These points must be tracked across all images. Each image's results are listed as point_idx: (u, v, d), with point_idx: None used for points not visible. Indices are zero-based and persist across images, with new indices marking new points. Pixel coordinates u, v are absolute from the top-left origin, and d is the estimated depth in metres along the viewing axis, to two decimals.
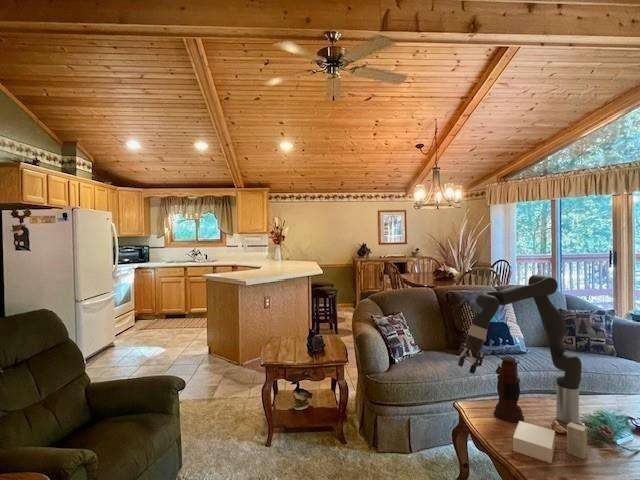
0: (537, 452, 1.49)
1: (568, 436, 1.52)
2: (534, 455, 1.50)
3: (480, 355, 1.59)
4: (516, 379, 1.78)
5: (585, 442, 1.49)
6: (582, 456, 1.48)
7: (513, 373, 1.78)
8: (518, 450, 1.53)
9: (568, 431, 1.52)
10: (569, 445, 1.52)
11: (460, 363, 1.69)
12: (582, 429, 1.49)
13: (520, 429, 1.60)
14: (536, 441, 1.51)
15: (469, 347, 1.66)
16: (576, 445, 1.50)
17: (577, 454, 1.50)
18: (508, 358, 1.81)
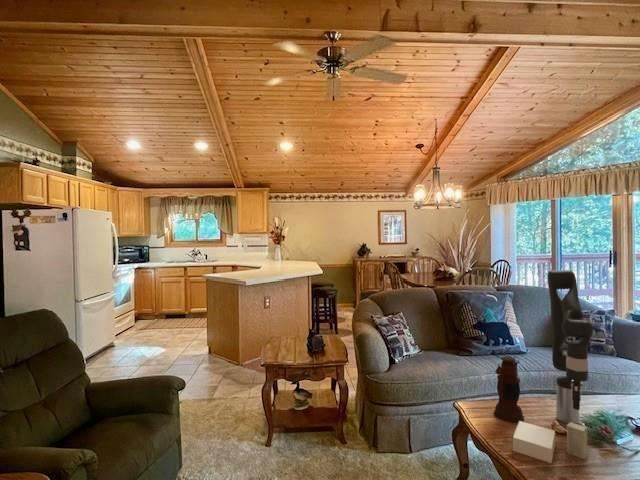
0: (537, 452, 1.49)
1: (568, 436, 1.52)
2: (534, 455, 1.50)
3: None
4: (516, 379, 1.78)
5: (585, 442, 1.49)
6: (582, 456, 1.48)
7: (513, 373, 1.78)
8: (518, 450, 1.53)
9: (568, 431, 1.52)
10: (569, 445, 1.52)
11: None
12: (582, 429, 1.49)
13: (520, 429, 1.60)
14: (536, 441, 1.51)
15: (580, 382, 1.49)
16: (576, 445, 1.50)
17: (577, 454, 1.50)
18: (508, 358, 1.81)
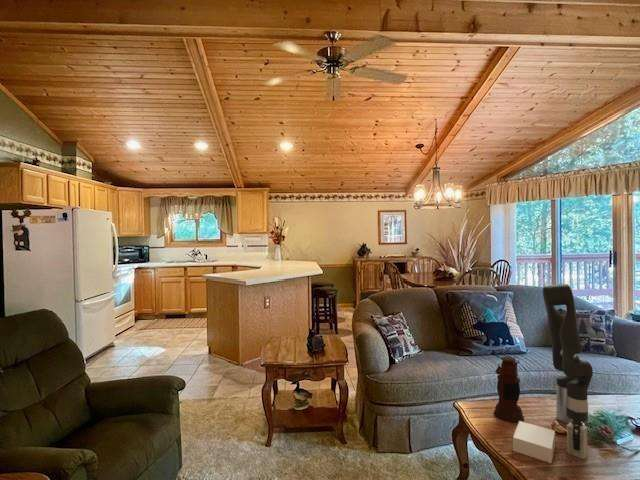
0: (537, 452, 1.49)
1: (568, 436, 1.52)
2: (534, 455, 1.50)
3: None
4: (516, 379, 1.78)
5: (585, 442, 1.49)
6: (582, 456, 1.48)
7: (513, 373, 1.78)
8: (518, 450, 1.53)
9: (568, 431, 1.52)
10: (569, 445, 1.52)
11: None
12: (582, 429, 1.49)
13: (520, 429, 1.60)
14: (536, 441, 1.51)
15: (580, 422, 1.50)
16: None
17: (577, 454, 1.50)
18: (508, 358, 1.81)
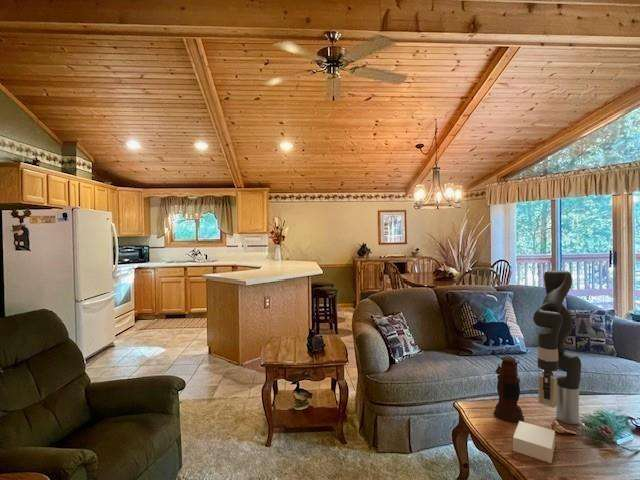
0: (537, 452, 1.49)
1: (539, 386, 1.54)
2: (534, 455, 1.50)
3: None
4: (516, 379, 1.78)
5: (555, 391, 1.51)
6: (552, 405, 1.51)
7: (513, 373, 1.78)
8: (518, 450, 1.53)
9: (539, 381, 1.54)
10: (540, 395, 1.54)
11: None
12: None
13: (520, 429, 1.60)
14: (536, 441, 1.51)
15: (550, 372, 1.52)
16: None
17: (547, 403, 1.52)
18: (508, 358, 1.81)
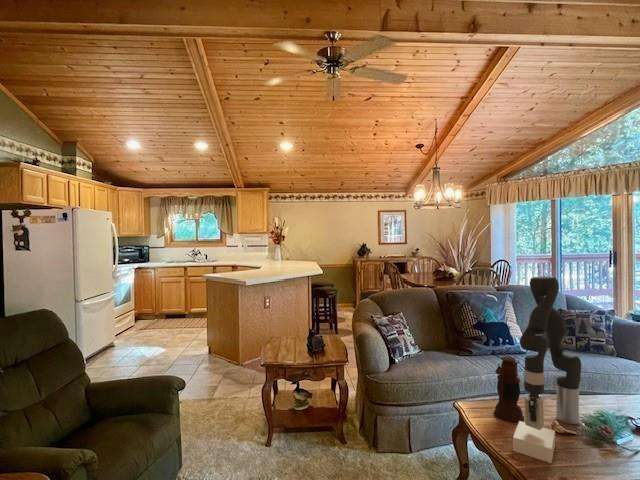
0: (537, 452, 1.49)
1: (526, 408, 1.57)
2: (534, 455, 1.50)
3: None
4: (516, 379, 1.78)
5: (541, 414, 1.54)
6: (538, 427, 1.53)
7: (513, 373, 1.78)
8: (518, 450, 1.53)
9: (526, 404, 1.57)
10: (526, 417, 1.57)
11: None
12: None
13: (520, 429, 1.60)
14: (536, 441, 1.51)
15: (536, 395, 1.55)
16: None
17: (534, 425, 1.55)
18: (508, 358, 1.81)
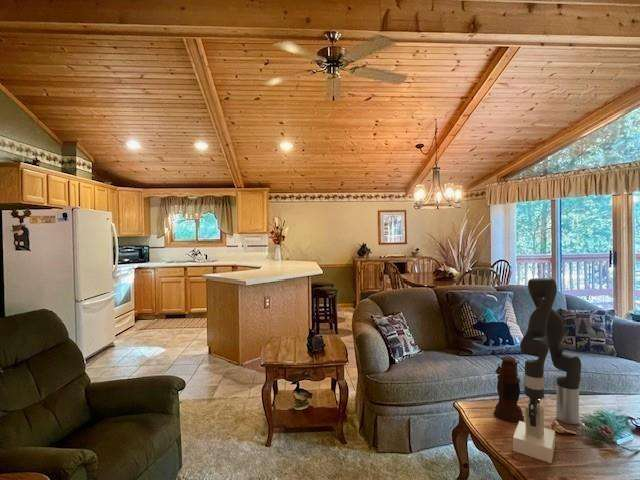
0: (537, 452, 1.49)
1: (526, 417, 1.57)
2: (534, 455, 1.50)
3: None
4: (516, 379, 1.78)
5: (542, 422, 1.54)
6: (539, 435, 1.53)
7: (513, 373, 1.78)
8: (518, 450, 1.53)
9: (526, 412, 1.56)
10: (527, 425, 1.57)
11: None
12: (539, 409, 1.54)
13: (520, 429, 1.60)
14: (536, 441, 1.51)
15: (536, 400, 1.55)
16: None
17: (534, 434, 1.54)
18: (508, 358, 1.81)
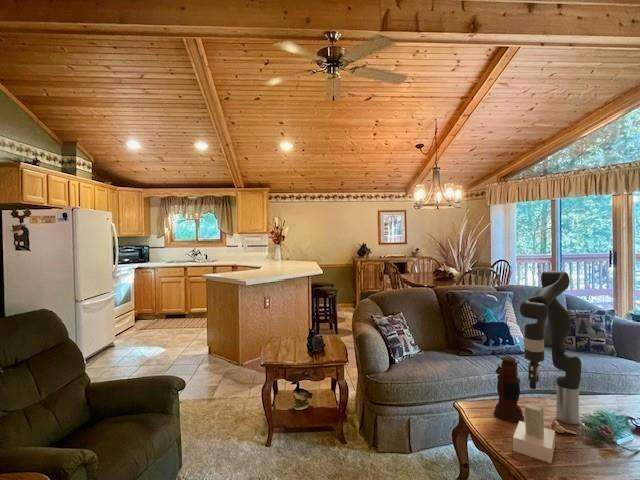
0: (537, 452, 1.49)
1: (526, 417, 1.57)
2: (534, 455, 1.50)
3: None
4: (516, 379, 1.78)
5: (542, 422, 1.54)
6: (539, 435, 1.53)
7: (513, 373, 1.78)
8: (518, 450, 1.53)
9: (526, 412, 1.57)
10: (527, 426, 1.57)
11: None
12: (539, 409, 1.54)
13: (520, 429, 1.60)
14: (536, 441, 1.51)
15: (536, 363, 1.54)
16: (533, 425, 1.55)
17: (534, 434, 1.54)
18: (508, 358, 1.81)
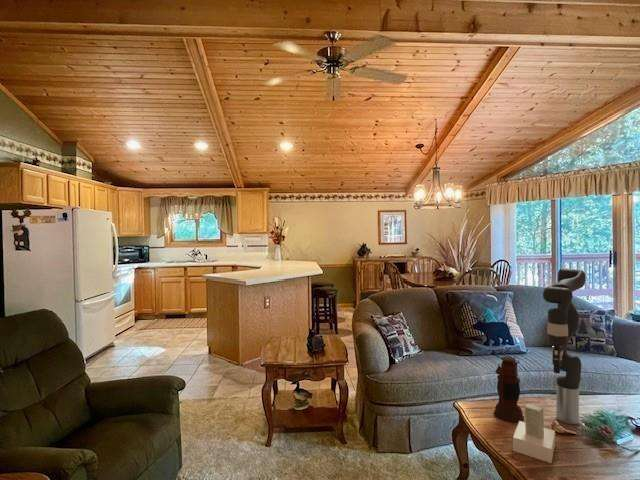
0: (537, 452, 1.49)
1: (526, 417, 1.57)
2: (534, 455, 1.50)
3: None
4: (516, 379, 1.78)
5: (541, 422, 1.54)
6: (539, 435, 1.53)
7: (513, 373, 1.78)
8: (518, 450, 1.53)
9: (526, 412, 1.57)
10: (527, 426, 1.57)
11: None
12: (539, 409, 1.54)
13: (520, 429, 1.60)
14: (536, 441, 1.51)
15: (560, 347, 1.55)
16: (533, 425, 1.55)
17: (534, 434, 1.54)
18: (508, 358, 1.81)
